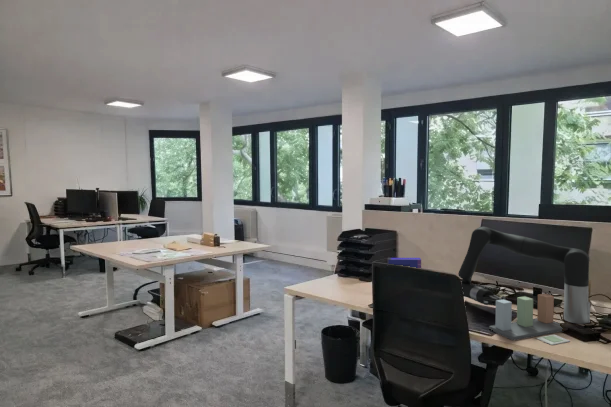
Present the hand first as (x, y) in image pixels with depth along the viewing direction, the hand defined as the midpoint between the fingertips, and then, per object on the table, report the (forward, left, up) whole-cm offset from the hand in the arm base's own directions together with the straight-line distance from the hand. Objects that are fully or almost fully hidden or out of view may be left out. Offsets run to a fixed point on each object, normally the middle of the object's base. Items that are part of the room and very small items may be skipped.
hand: (508, 305), depth 185 cm
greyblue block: (+7, +13, -6) cm, 16 cm away
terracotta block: (-15, +3, -6) cm, 16 cm away
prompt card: (-10, +21, -8) cm, 24 cm away
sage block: (-4, +8, -6) cm, 11 cm away
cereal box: (+44, -28, -8) cm, 53 cm away
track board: (-5, +10, -8) cm, 13 cm away
